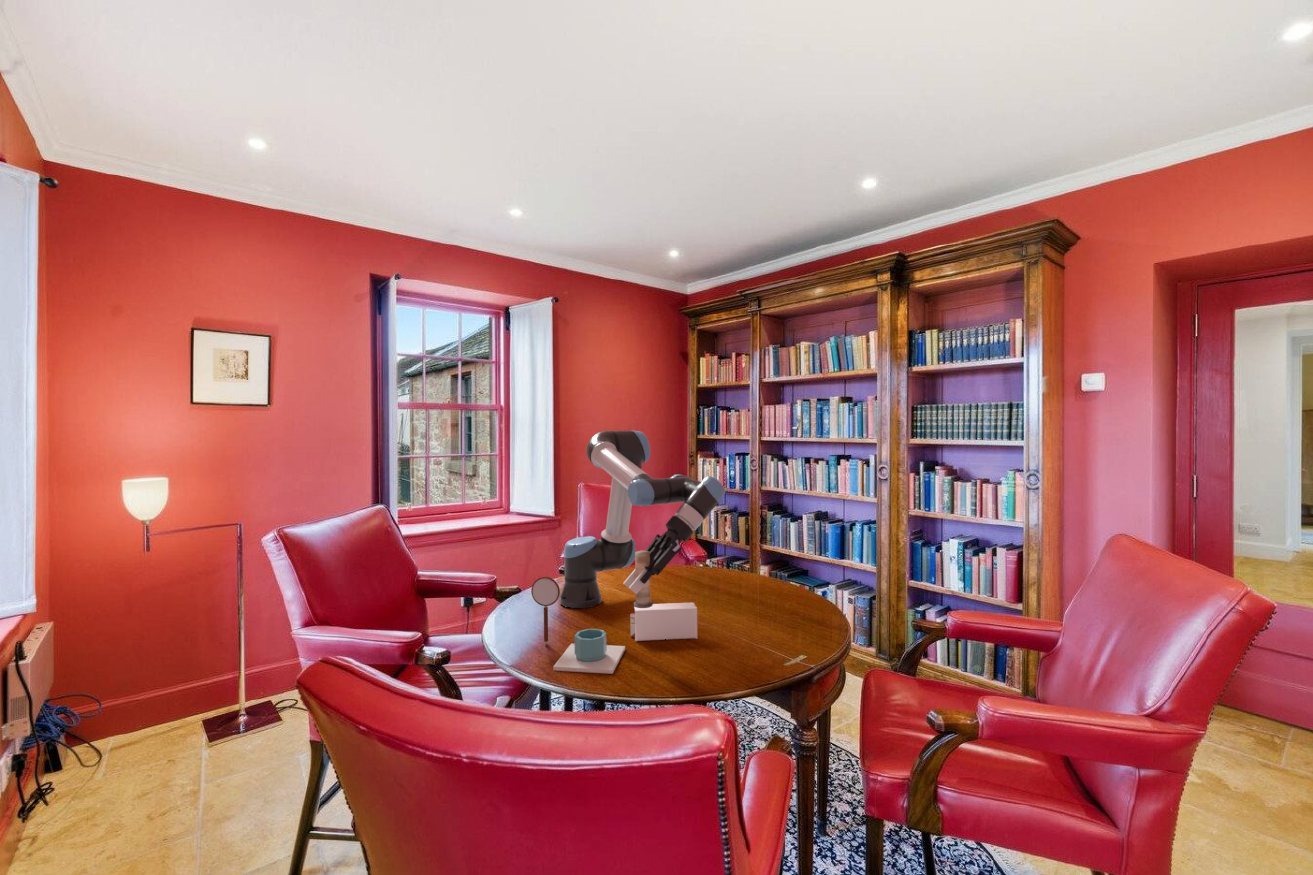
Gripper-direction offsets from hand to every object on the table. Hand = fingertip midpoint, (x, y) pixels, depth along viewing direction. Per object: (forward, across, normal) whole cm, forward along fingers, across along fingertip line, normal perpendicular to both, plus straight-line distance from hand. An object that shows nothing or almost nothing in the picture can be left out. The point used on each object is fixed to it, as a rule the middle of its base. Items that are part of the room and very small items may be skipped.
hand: (629, 588), depth 151 cm
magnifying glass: (+28, +22, -1) cm, 35 cm away
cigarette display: (+4, +13, -25) cm, 29 cm away
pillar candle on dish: (+1, 0, -6) cm, 6 cm away
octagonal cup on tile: (+21, +6, -7) cm, 23 cm away
